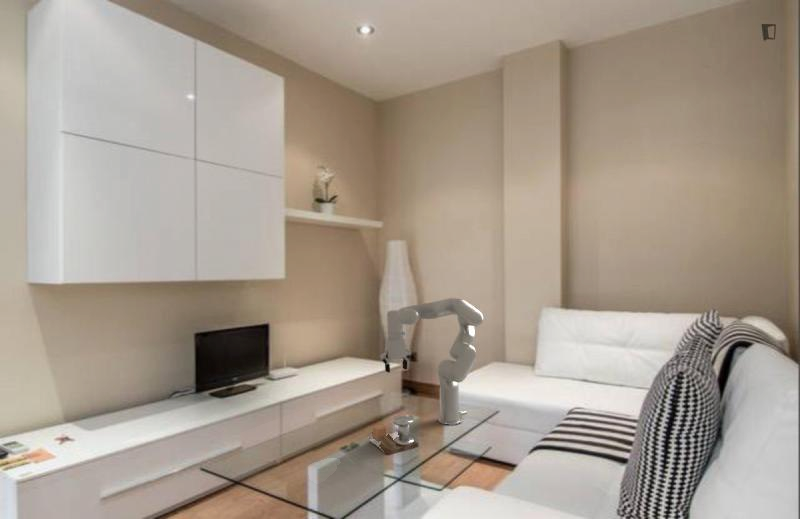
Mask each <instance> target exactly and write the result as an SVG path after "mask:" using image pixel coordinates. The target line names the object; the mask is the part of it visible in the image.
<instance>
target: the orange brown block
mask: <svg viewBox="0 0 800 519" xmlns="http://www.w3.org/2000/svg"><path fill="white" fill-rule="evenodd" d="M372 432H373V439H375V440H376V441H378V442H379V441H381V440H380V438H381V437H386V434H387V427H386V426H384V425H382V424H378V425H374V426H372Z"/></svg>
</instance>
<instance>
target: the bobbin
mask: <svg viewBox="0 0 800 519" xmlns="http://www.w3.org/2000/svg"><path fill="white" fill-rule="evenodd" d="M413 423H414V418H413V417H412V416H405V415H404V416H398V417H395V418H393V424H394V425H396V426H397V428H398V430H397V431H398V435H399V437H396V438H395V439H394V443H395V444H396V445H400V446H407V445H411V444H413V443H414V441H415V438H414V437H413V436H411V435H410V425H412V424H413Z"/></svg>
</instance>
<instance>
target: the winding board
mask: <svg viewBox="0 0 800 519" xmlns="http://www.w3.org/2000/svg"><path fill="white" fill-rule="evenodd" d="M371 432H372V436H371V437H373V431H371ZM380 440H381V444H380V445H379V446H380V447H381V449H382V450H383V451H384V452H383V451H382V452H383V453H384V454H385V455H387V456H389V455H393V454H396V453H400V452H402V451H406V450H410V449H414V448H417V447H419V442H418V441H415V440H414V443H413V444H411V445H407V446H400V445H396V444H395V443H394V440H393V438H392V437H391V436H390V435H389V434H388V435H387V436H386V437H381V438H380Z"/></svg>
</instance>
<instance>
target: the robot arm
mask: <svg viewBox="0 0 800 519" xmlns="http://www.w3.org/2000/svg"><path fill="white" fill-rule="evenodd" d="M452 315H453V316H454V315H456V317H457V318H456V319H457V321H458V324H459V330H458V331H459V332H458V334H457V336H456V338H455V340H454V342H453V343H452V345H451V348H450V349H449V355H450V357H451V358H452V359H453V360H451V359H443V360H441V361H440V363H438V366H437V373H438V378H439V379H438V380H439V388H440V392H439V394H440V416H439V417H438V419H437V420H438V423H440V424H442V425H445V423H447V424H449V425H448V426H456V425H460V424H461V423H462V422H463V416H465V415H467V414H468V412H467V411H466V410H460V394H459V393H460V392H459V390H460V388H459V383H462V382H463V381H465V379H466V378H467V377H468V375H469V373H470V372H471V370H472V367H473V365H474V364H475V362H476V359H477V350H476V348H475V347H474V346H473V345H472V344H473V341H474V339H475V336H476V331H475V328H476V327H480V326H482V324H483V322H484V316H483V313H482V312H481V311H480V310H479V309H477V308H475V307H474V306H473V305H472V304H470V303H469V302H467V301H466V300H465V299H462V298H455V297H449V298H445V299H441V300H436V301H432V302H426V303H420V304H414V305H413V304H412V305H409V306H404V307H401V308H398V309H395V310H389V311H387V313H386V320H387V323H386V324H387V338H386V339H385V345H384V352H382V353H381V354H380V355H379V358H380V360H381V361H382V362H383V363H384V369H385V372H386V373H390V372H391V367H390V366H391V364H390V362H391V361H394V360H399V359H402V369H403V370H408V362H409V359H410V358H411V355H412V353H413V351H412V350H410V349H407V346H406V340H405V337H404V335H406V332H405V331H404V326H403V325H408V326H410V325H415V324H416V323H418V321H419V320H421V319H422V320H424V319H425V320H434V319H439V318H442V317H448V316H452ZM454 360H455V361H454ZM459 423H460V424H459Z"/></svg>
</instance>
